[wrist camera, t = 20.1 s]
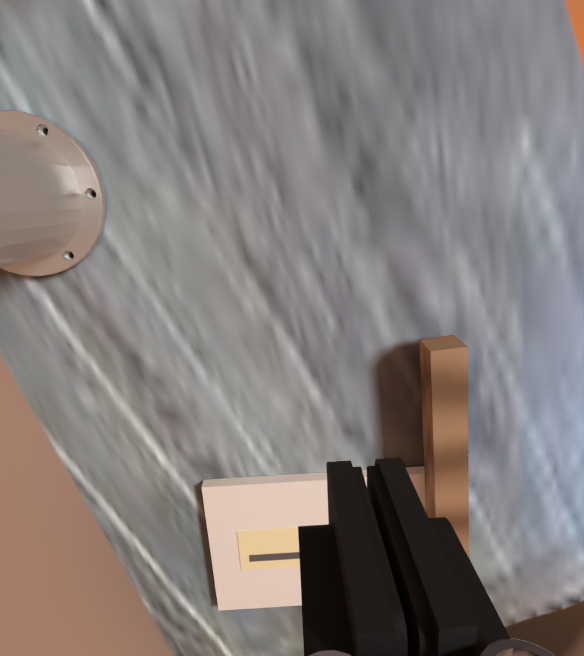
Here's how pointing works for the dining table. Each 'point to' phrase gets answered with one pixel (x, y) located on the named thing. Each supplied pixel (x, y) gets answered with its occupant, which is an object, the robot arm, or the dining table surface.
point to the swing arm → (446, 430)
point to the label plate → (266, 534)
